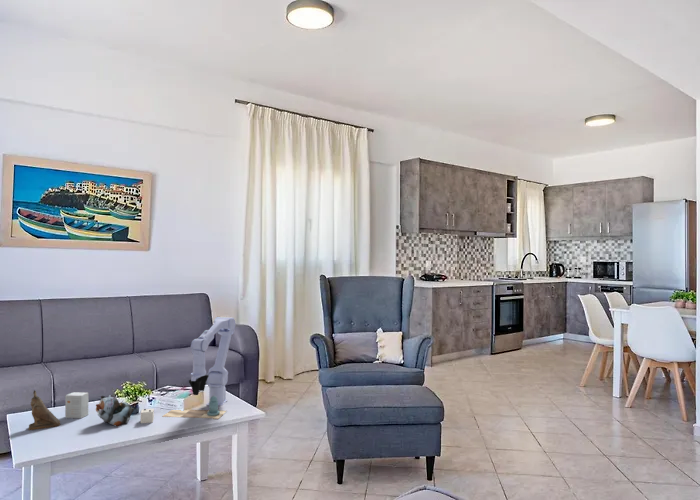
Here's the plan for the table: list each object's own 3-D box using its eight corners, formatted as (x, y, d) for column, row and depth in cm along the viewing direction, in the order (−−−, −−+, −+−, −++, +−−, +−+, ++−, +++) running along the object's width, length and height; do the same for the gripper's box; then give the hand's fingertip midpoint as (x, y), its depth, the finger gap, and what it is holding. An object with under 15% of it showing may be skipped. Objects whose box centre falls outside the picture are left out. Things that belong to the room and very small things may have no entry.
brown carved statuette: (29, 436, 214) (19, 396, 213) (30, 432, 219) (20, 392, 217) (60, 426, 219) (51, 387, 218) (61, 422, 224) (52, 384, 223)
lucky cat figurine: (125, 427, 219) (109, 401, 216) (101, 436, 220) (84, 411, 217) (138, 407, 234) (123, 383, 230) (116, 416, 235) (100, 392, 231)
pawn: (209, 412, 241) (210, 394, 241) (221, 412, 240) (221, 394, 240) (205, 415, 235) (205, 397, 235) (217, 416, 234) (217, 397, 235)
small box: (88, 415, 236) (89, 392, 236) (81, 418, 230) (81, 395, 231) (72, 414, 237) (73, 391, 237) (64, 418, 231) (65, 395, 231)
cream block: (142, 420, 228) (142, 408, 229) (153, 419, 230) (154, 407, 230) (140, 423, 224) (140, 411, 224) (152, 423, 225) (152, 410, 225)
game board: (173, 409, 245) (173, 408, 245) (227, 411, 243) (227, 410, 243) (161, 417, 233) (161, 416, 233) (218, 419, 231) (218, 418, 231)
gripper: (196, 360, 248) (196, 388, 247) (185, 367, 233) (184, 396, 233) (210, 361, 247) (210, 389, 247) (199, 367, 233) (199, 397, 232)
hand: (198, 392), depth 240 cm, fingers open, 7 cm apart
